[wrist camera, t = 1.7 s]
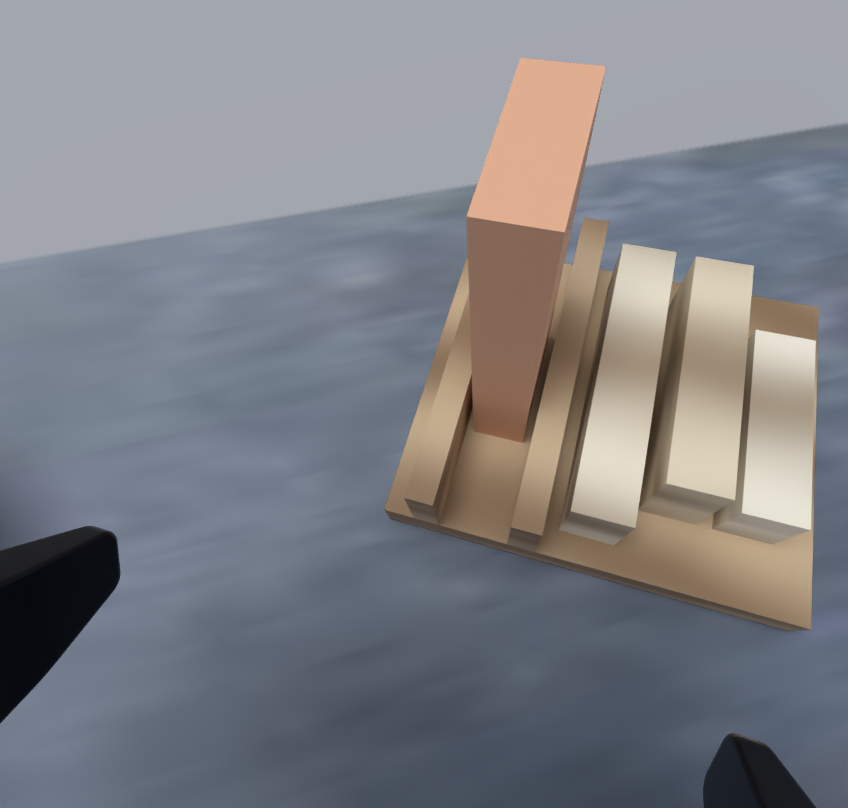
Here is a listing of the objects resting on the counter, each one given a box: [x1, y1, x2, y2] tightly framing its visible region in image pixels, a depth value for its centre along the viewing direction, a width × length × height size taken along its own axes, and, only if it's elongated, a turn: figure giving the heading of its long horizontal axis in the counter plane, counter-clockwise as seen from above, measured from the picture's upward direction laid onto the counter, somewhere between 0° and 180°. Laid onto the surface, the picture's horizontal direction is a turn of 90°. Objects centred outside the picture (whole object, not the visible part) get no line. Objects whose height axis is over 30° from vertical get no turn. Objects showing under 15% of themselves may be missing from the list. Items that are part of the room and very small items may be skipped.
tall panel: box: [467, 58, 606, 443], centre depth 17 cm, size 5×2×12 cm, turn 164°
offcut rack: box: [384, 218, 819, 631], centre depth 21 cm, size 13×15×5 cm
